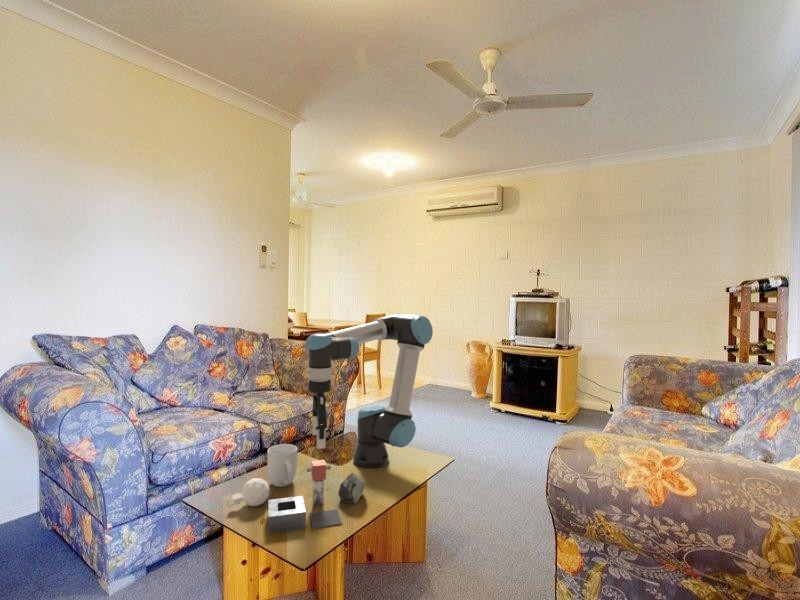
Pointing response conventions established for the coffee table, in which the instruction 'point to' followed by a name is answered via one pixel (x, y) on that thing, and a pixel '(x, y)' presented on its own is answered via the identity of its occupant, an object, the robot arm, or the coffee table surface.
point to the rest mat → (325, 519)
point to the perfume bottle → (253, 493)
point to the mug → (282, 464)
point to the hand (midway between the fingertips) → (318, 441)
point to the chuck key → (318, 480)
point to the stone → (352, 488)
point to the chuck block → (286, 514)
